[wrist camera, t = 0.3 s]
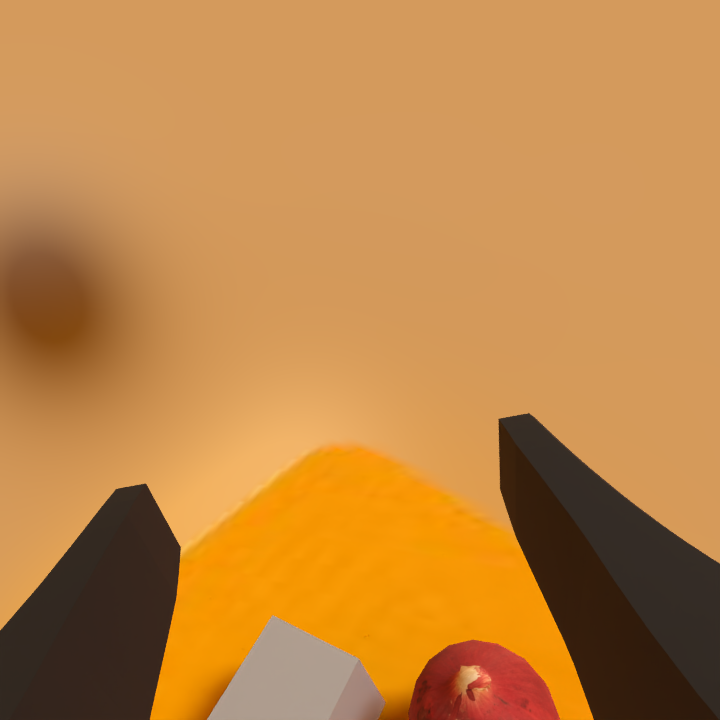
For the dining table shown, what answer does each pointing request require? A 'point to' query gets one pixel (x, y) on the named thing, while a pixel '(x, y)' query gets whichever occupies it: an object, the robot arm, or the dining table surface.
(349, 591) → the dining table surface
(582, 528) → the robot arm
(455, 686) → the onion
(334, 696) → the light grey cube
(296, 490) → the dining table surface
